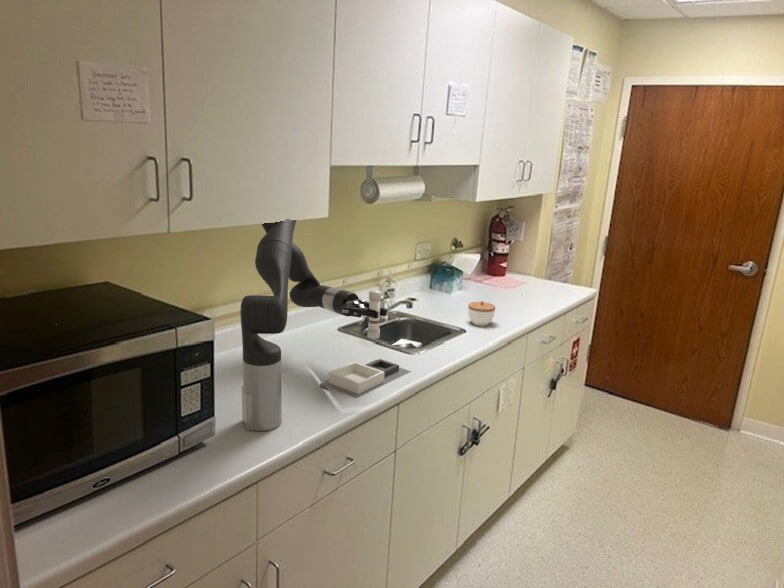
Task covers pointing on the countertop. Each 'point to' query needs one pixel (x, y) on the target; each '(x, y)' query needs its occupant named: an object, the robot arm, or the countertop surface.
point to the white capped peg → (375, 305)
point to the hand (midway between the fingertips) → (381, 313)
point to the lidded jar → (481, 313)
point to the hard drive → (403, 341)
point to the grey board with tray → (363, 377)
